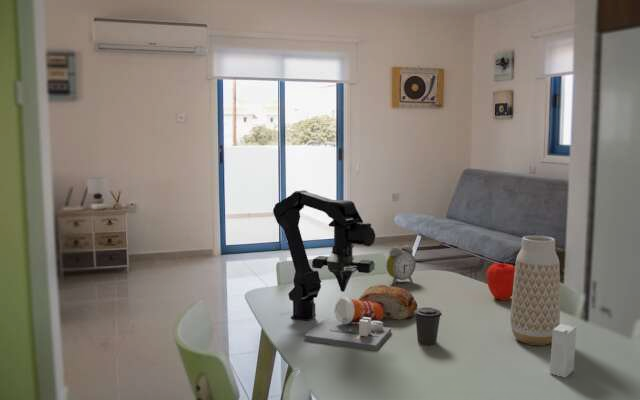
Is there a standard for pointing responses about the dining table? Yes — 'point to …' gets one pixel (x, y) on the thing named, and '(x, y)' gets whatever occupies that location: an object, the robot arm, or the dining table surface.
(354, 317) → the coffee cup
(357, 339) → the console
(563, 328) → the skincare box
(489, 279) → the apple
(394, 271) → the alarm clock
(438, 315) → the coffee cup
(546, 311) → the vase
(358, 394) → the dining table surface
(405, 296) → the bread
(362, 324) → the fader
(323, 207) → the robot arm
